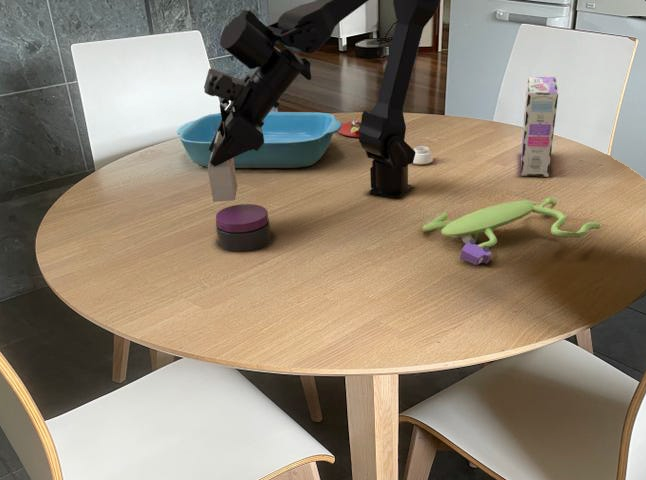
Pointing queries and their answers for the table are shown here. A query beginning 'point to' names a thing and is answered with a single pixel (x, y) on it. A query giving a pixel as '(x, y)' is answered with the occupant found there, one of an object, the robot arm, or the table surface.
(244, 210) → the jar lid
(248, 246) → the jar
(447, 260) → the table surface
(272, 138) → the casserole dish
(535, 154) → the candy box
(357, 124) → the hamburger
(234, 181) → the paper tea packet
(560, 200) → the table surface
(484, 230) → the figurine
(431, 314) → the table surface
